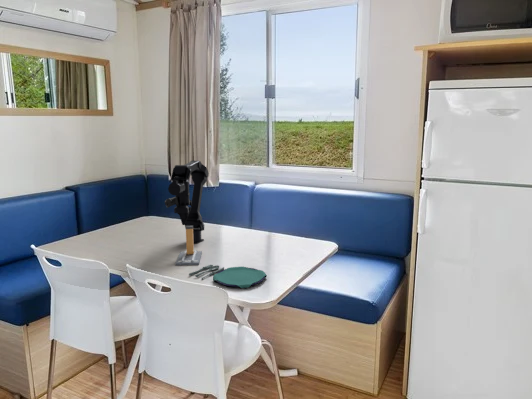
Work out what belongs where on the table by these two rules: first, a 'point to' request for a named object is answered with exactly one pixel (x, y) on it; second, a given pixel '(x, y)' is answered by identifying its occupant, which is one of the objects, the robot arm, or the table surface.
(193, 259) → the board
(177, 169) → the robot arm
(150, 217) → the table surface
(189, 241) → the tan wooden bar
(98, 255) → the table surface
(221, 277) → the cutlery set
